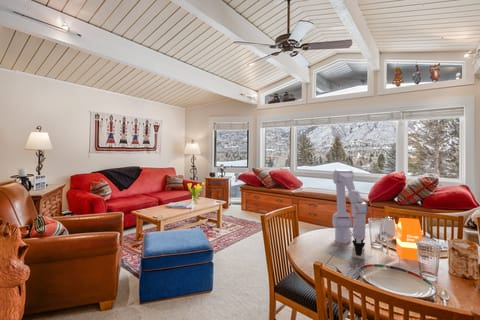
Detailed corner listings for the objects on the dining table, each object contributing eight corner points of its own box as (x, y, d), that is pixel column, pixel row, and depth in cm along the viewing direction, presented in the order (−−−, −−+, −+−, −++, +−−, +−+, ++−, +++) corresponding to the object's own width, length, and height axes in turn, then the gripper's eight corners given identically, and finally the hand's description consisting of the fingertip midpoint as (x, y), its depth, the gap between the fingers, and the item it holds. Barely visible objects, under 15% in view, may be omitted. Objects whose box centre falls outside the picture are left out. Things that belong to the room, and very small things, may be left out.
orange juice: (421, 260, 119) (422, 221, 119) (401, 258, 122) (402, 219, 121) (415, 254, 127) (415, 217, 126) (396, 252, 129) (396, 215, 129)
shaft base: (344, 248, 134) (344, 241, 134) (373, 259, 121) (373, 250, 121) (326, 254, 125) (326, 246, 125) (354, 266, 112) (355, 258, 112)
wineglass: (393, 254, 127) (394, 217, 126) (398, 260, 119) (399, 220, 119) (377, 252, 129) (378, 215, 129) (380, 258, 122) (381, 219, 122)
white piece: (352, 253, 125) (352, 243, 125) (364, 255, 123) (364, 245, 122) (352, 256, 120) (352, 246, 120) (364, 259, 118) (364, 248, 118)
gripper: (351, 221, 129) (350, 246, 130) (349, 228, 116) (349, 256, 117) (365, 223, 126) (365, 248, 126) (366, 231, 113) (365, 259, 114)
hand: (358, 252), depth 121 cm, fingers open, 7 cm apart
